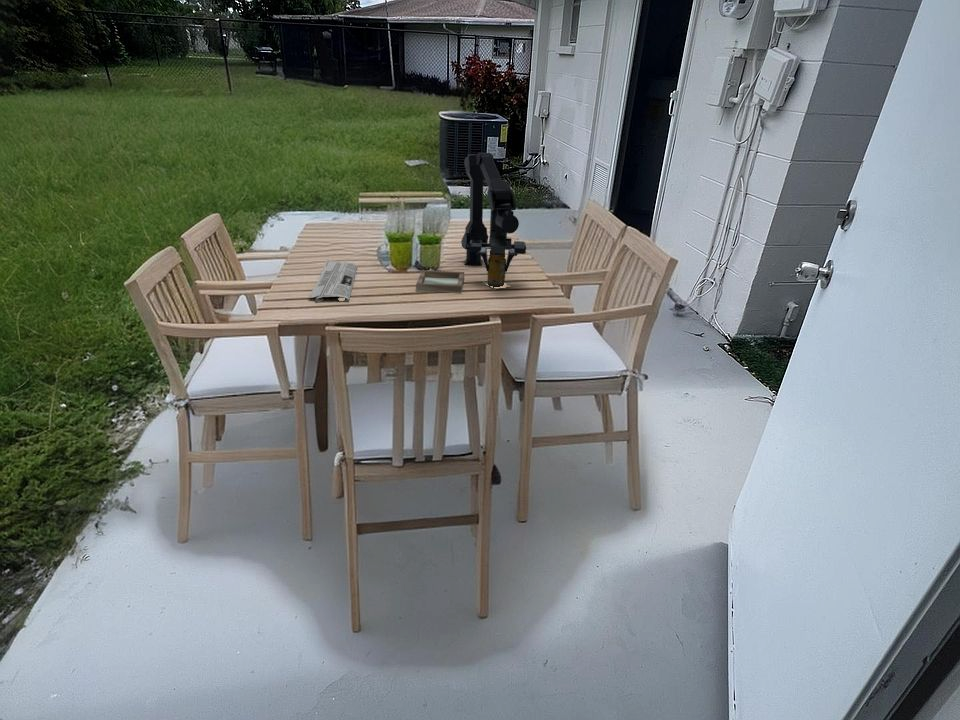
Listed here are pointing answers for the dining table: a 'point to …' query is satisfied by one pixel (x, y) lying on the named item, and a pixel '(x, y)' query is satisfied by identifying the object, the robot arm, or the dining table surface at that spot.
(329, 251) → the dining table surface
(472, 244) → the robot arm
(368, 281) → the dining table surface
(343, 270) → the newspaper
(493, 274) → the condiment
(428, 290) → the holder tray
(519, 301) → the dining table surface
